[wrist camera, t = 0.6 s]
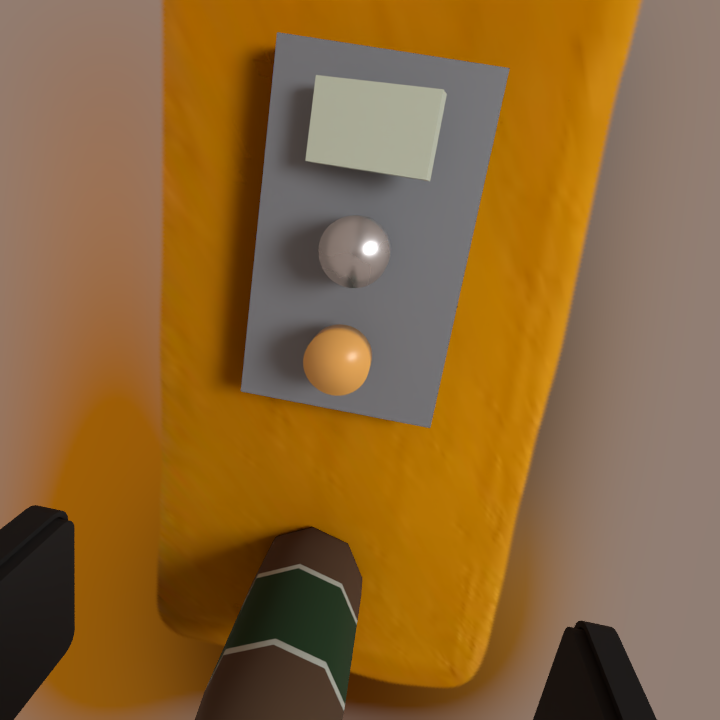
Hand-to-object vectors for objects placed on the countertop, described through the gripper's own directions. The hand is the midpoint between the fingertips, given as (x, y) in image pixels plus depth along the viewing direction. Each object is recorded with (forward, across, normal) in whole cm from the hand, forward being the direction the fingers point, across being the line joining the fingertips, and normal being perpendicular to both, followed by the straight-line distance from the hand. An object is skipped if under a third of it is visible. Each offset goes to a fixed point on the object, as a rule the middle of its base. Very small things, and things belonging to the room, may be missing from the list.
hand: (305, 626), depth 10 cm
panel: (+25, +2, -5) cm, 25 cm away
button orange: (+21, +2, +1) cm, 21 cm away
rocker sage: (+21, +2, -11) cm, 24 cm away
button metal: (+21, +2, -5) cm, 22 cm away
